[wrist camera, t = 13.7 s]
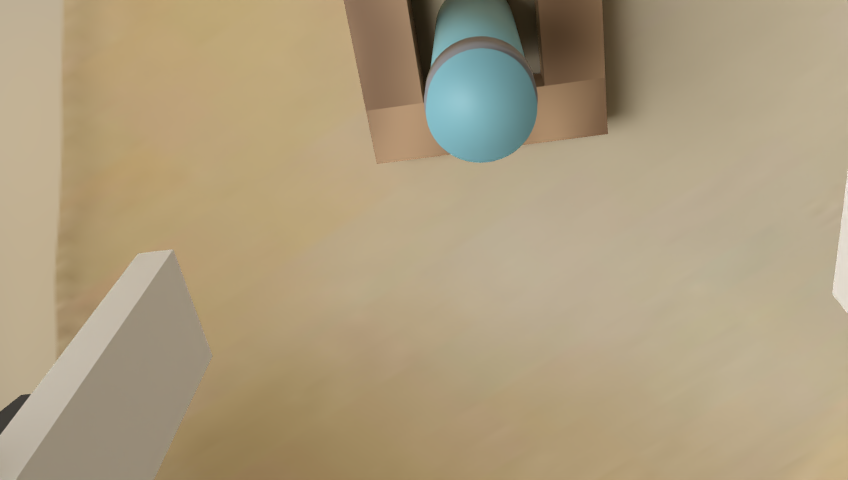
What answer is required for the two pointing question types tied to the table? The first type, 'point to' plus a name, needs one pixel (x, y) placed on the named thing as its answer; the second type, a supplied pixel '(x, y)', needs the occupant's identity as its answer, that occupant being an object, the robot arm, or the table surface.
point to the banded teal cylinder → (479, 82)
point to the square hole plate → (404, 86)
